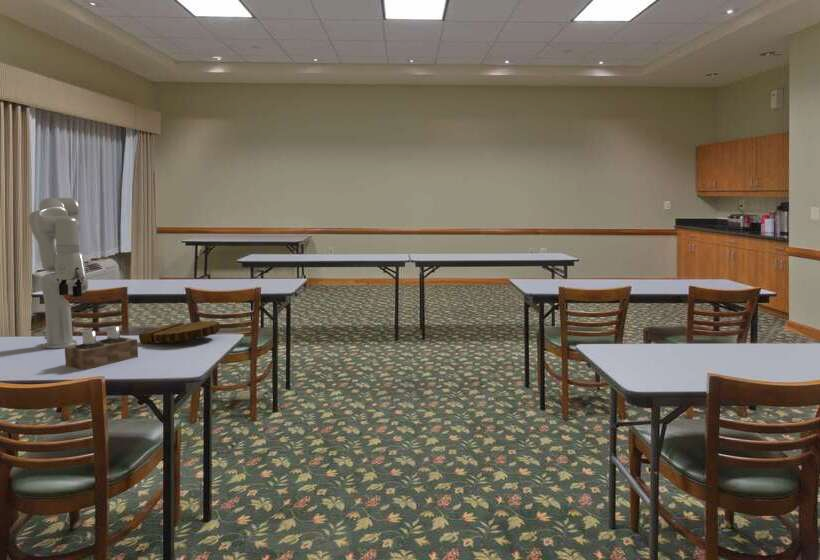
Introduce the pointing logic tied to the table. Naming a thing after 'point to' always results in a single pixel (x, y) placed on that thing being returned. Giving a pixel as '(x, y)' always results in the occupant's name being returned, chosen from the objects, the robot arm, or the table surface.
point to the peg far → (113, 333)
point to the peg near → (89, 338)
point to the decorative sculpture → (180, 332)
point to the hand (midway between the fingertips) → (70, 295)
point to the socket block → (101, 353)
